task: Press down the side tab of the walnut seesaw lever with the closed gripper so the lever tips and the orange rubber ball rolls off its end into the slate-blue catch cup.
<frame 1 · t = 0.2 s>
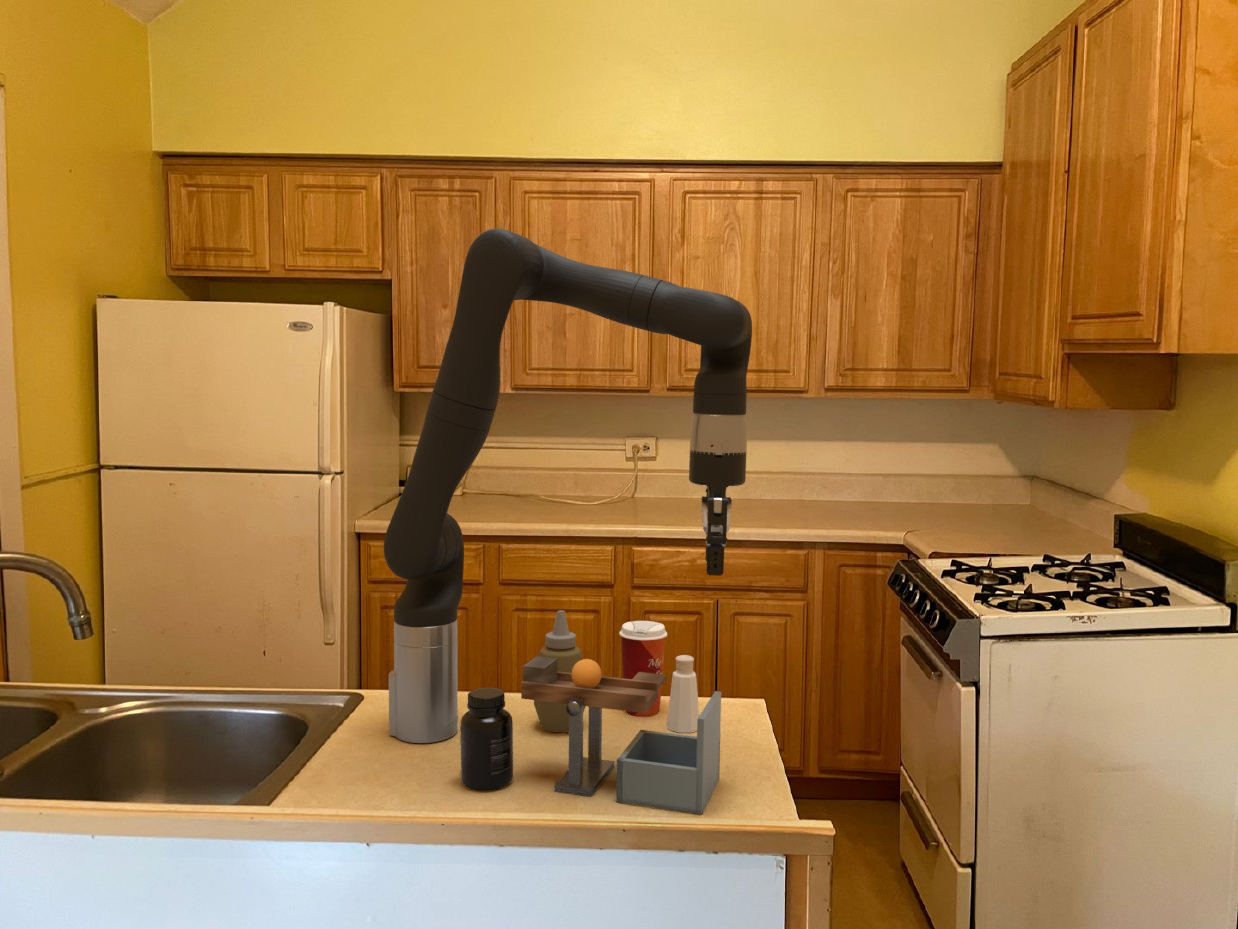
hand: (714, 568, 127), 28 cm above the countertop, fingers open, 8 cm apart
pivot stand: (585, 778, 126), on the countertop
catch cup: (669, 790, 122), on the countertop
lever: (597, 675, 128), point 13 cm above the countertop, hinge at 0.0°, touching ball
supplement bottle: (486, 783, 125), on the countertop
ball: (586, 674, 125), point 14 cm above the countertop, touching lever
squeeze bottle: (560, 728, 145), on the countertop
salt shaker: (683, 728, 145), on the countertop
paper cup: (642, 712, 152), on the countertop
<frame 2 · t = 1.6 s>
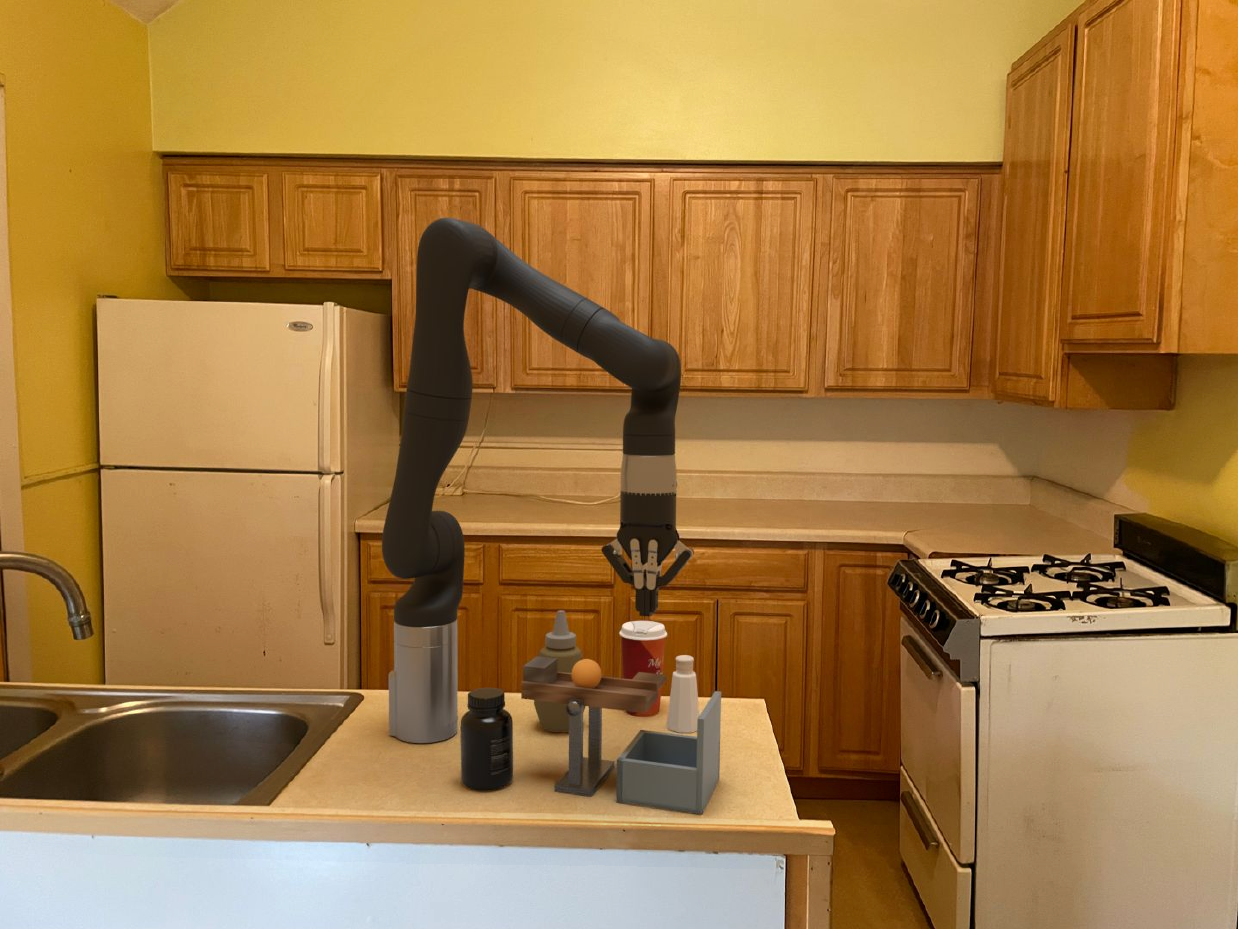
hand: (646, 615, 128), 21 cm above the countertop, fingers closed
nothing on the countertop moved.
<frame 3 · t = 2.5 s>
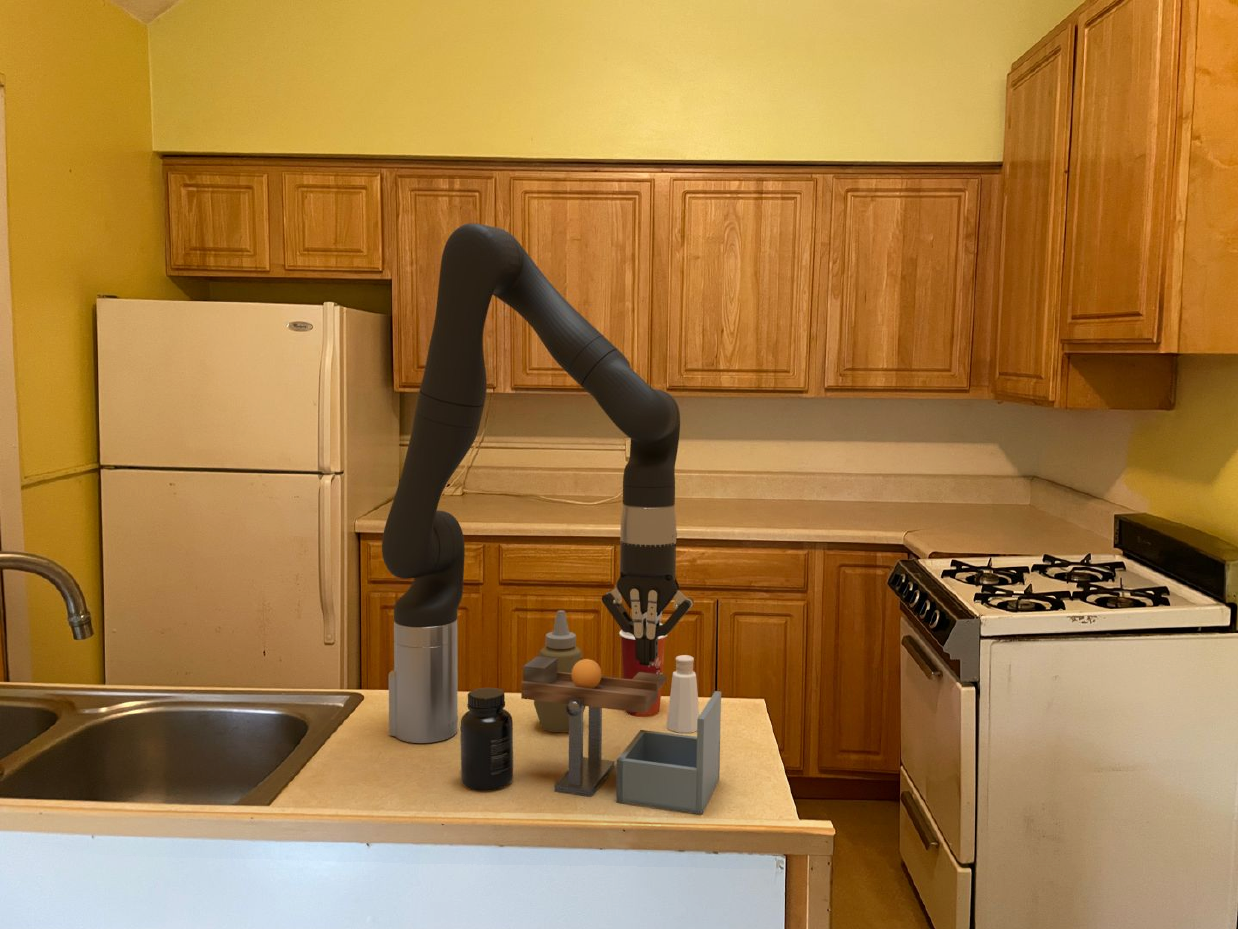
hand: (646, 663, 129), 15 cm above the countertop, fingers closed
nothing on the countertop moved.
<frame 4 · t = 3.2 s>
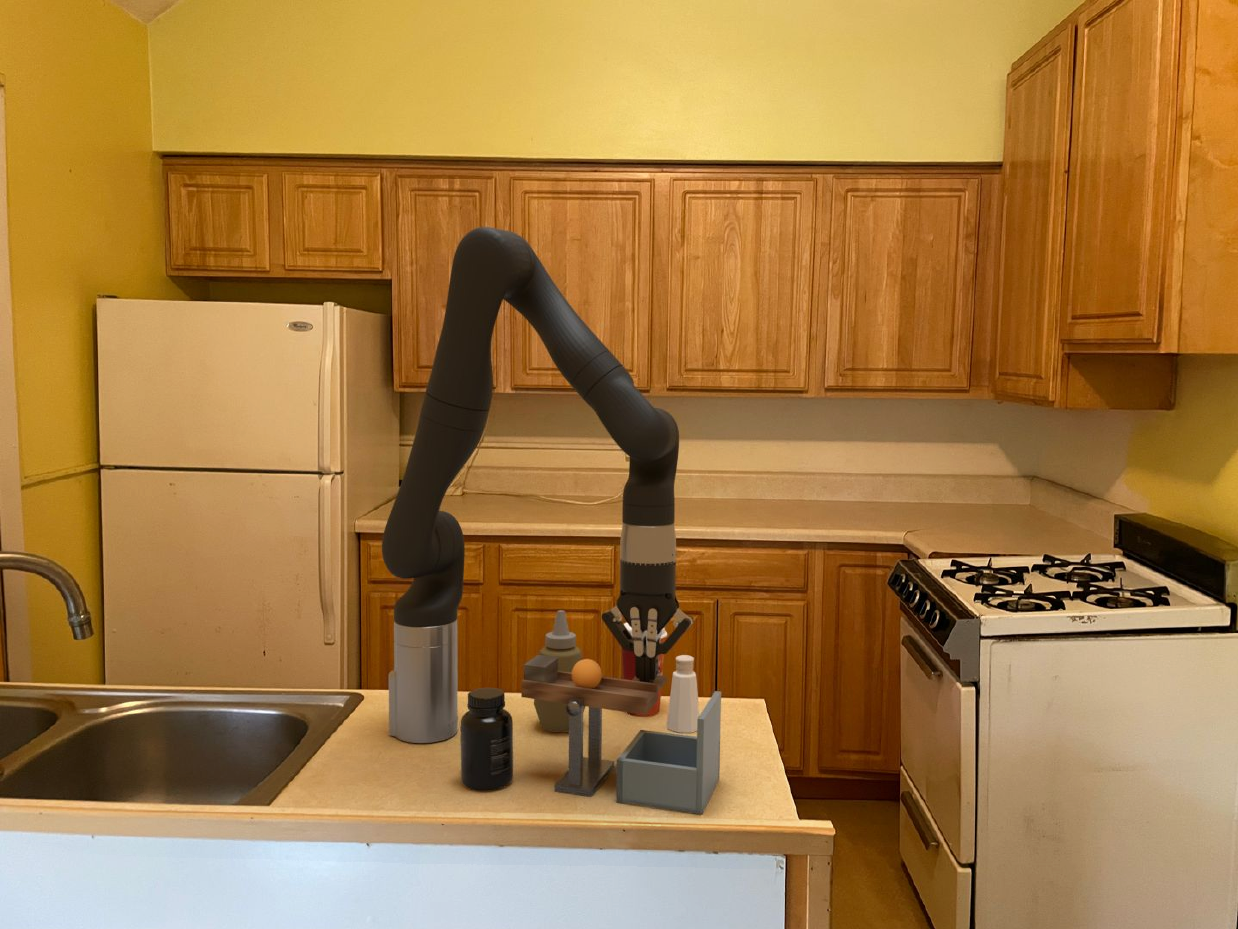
hand: (646, 681, 129), 12 cm above the countertop, fingers closed
lever: (598, 676, 128), point 13 cm above the countertop, hinge at 1.5°, touching ball, gripper
everything else where it was.
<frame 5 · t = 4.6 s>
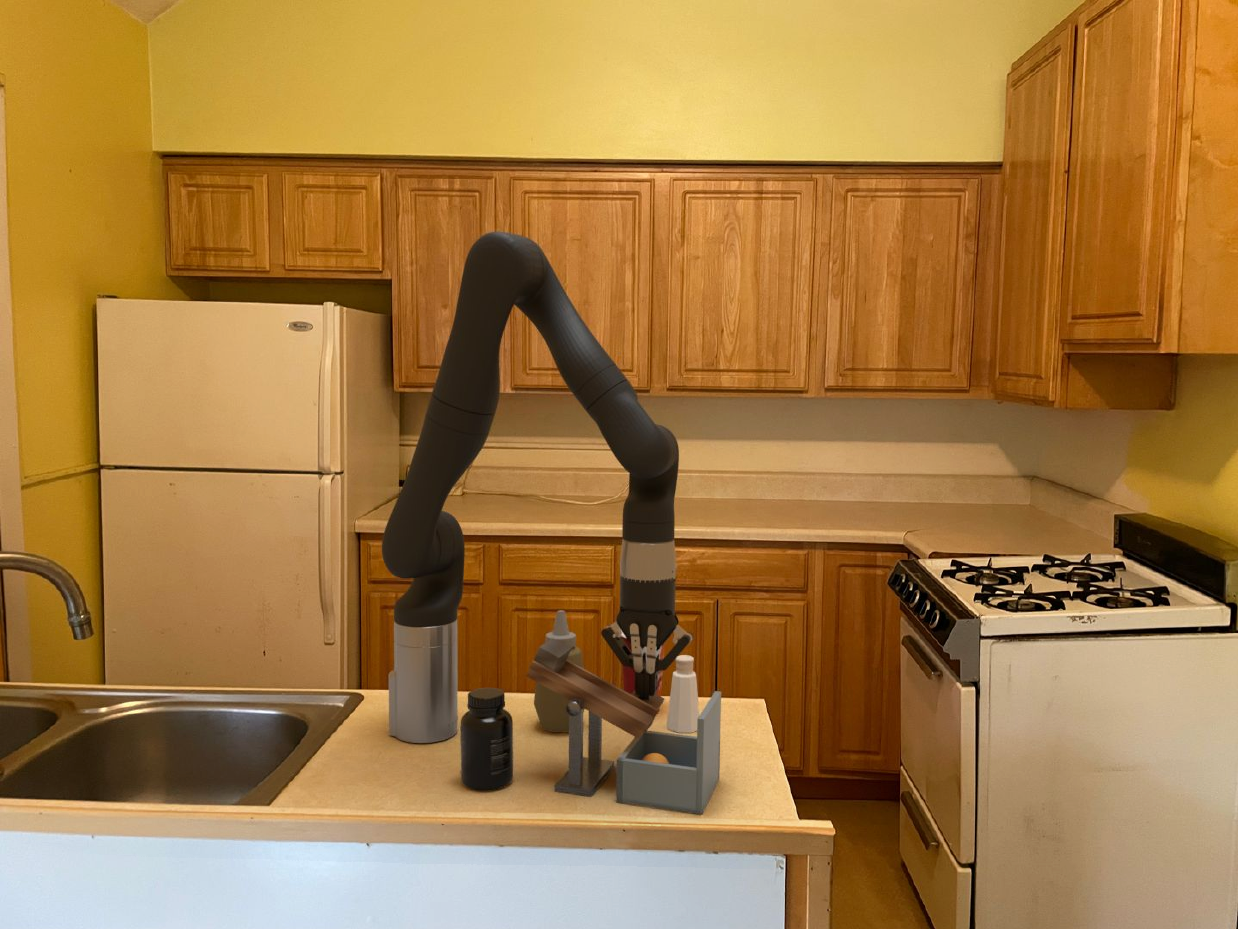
hand: (646, 697, 129), 10 cm above the countertop, fingers closed
lever: (603, 679, 128), point 13 cm above the countertop, hinge at 23.0°, touching gripper
ball: (654, 769, 123), point 3 cm above the countertop, tilted 149°, touching catch cup
everything else where it was.
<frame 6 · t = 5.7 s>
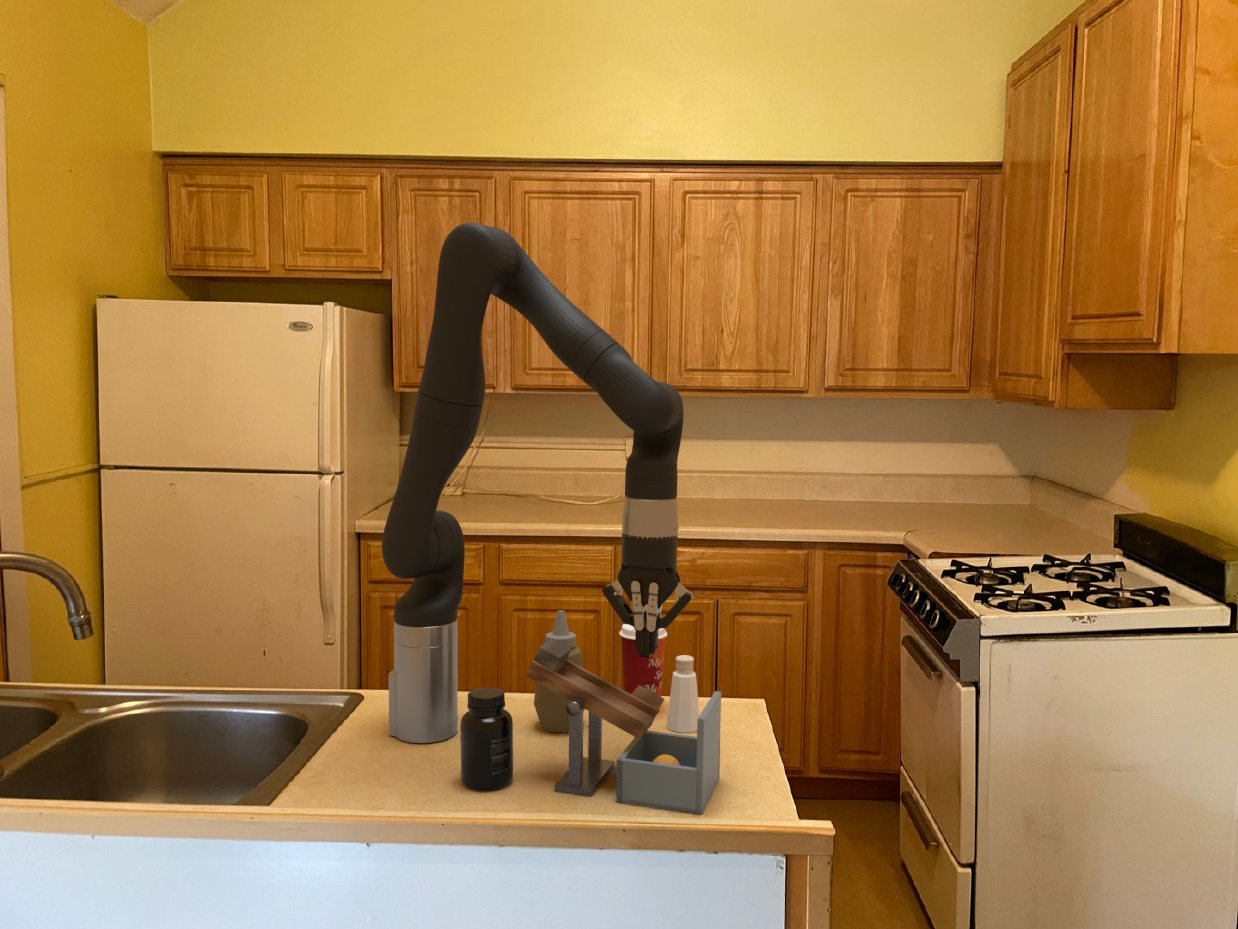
hand: (646, 656, 129), 16 cm above the countertop, fingers closed
lever: (603, 679, 128), point 13 cm above the countertop, hinge at 23.1°
ball: (665, 770, 122), point 3 cm above the countertop, tilted 107°, touching catch cup
everything else where it was.
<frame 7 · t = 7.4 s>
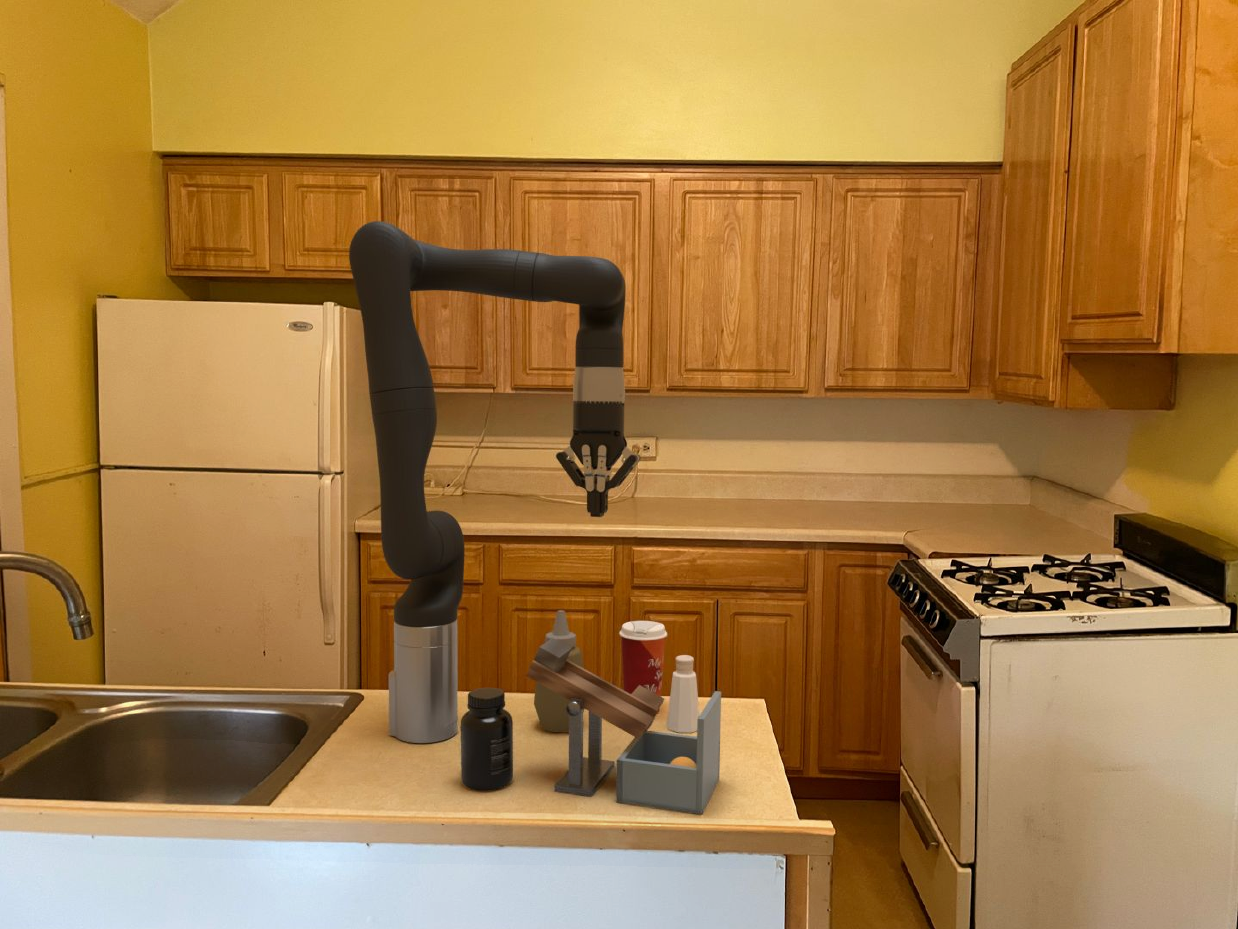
hand: (597, 516, 139), 33 cm above the countertop, fingers closed
ball: (682, 773, 122), point 3 cm above the countertop, tilted 42°, touching catch cup
everything else where it was.
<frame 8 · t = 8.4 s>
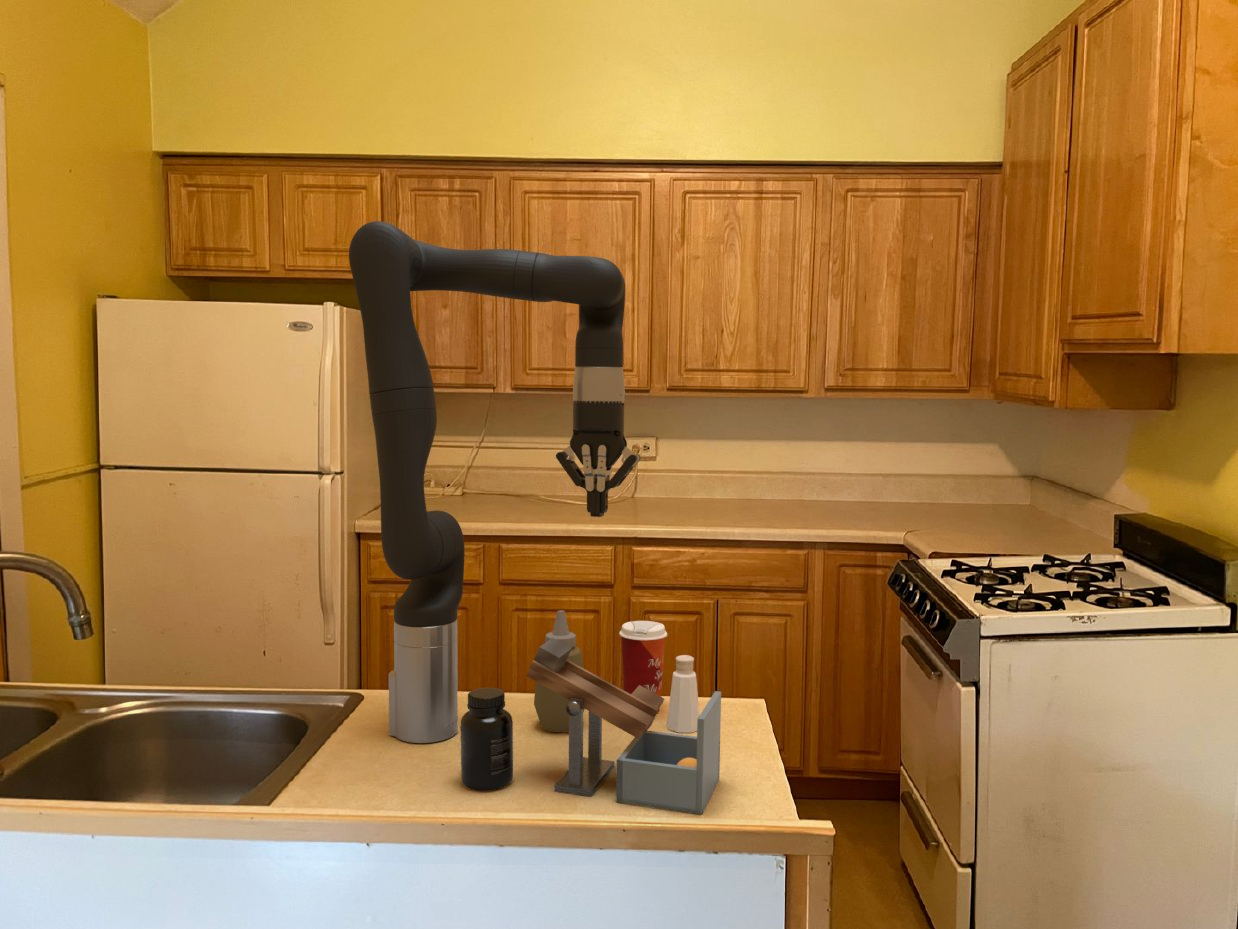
hand: (597, 516, 139), 33 cm above the countertop, fingers closed
ball: (689, 774, 121), point 3 cm above the countertop, tilted 15°, touching catch cup
everything else where it was.
at the end: ball inside the target area on the catch cup (2.7 cm from its centre), point 2.6 cm above the catch cup's base; ball touching catch cup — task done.
